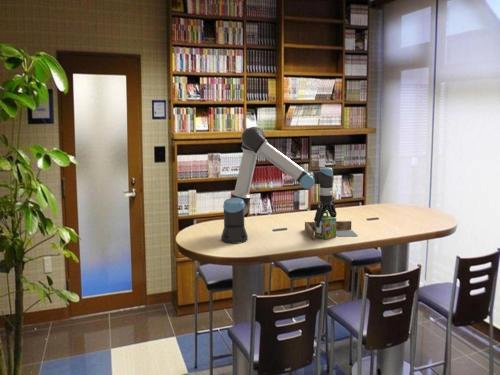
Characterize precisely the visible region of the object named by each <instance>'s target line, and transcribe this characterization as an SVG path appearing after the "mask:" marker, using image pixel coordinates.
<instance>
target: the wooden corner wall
mask: <svg viewBox="0 0 500 375" xmlns="http://www.w3.org/2000/svg"><path fill="white" fill-rule="evenodd" d="M348 230H352V220H336V231H348ZM304 231H305V232H306V234H307V235H308V237H309V239H310V240H311V241H314V240H315V221H304Z"/></svg>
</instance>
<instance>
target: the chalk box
mask: <svg viewBox="0 0 500 375" xmlns="http://www.w3.org/2000/svg"><path fill="white" fill-rule="evenodd" d="M325 214H326V215H325ZM336 221H337V217H334V218H333V217H331V216H330V215H329V212H328V211H326V212H324V214H323V217H322V219H321V221H320V222H321V233H317V227H316V226H317V225H316V223H317V222H316V221H314V222H315V230H314V237H317V238H320V239H323V240H326V239H333V238H336V237H337V236H336V231H337V230H336Z"/></svg>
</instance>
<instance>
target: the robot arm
mask: <svg viewBox="0 0 500 375" xmlns="http://www.w3.org/2000/svg"><path fill="white" fill-rule="evenodd" d="M240 137H241V143H242V144H241V148H240V149H241V150H242V155H241V160H240V165H239V170H238V174H237V177H236V178H237V179H236V184H235V188H234V190H233V191H232V192H231V195H230V197H229V198H227V199H225V200H224V201H223V204H222V205H223V206H222V208H223V229H222V232H221V236H220V238H221V239H220V240H221V242H223V241H225V242H224V243H226V242H242V243H244V242H243V241H245V242H247V241H248V239H249V238H248V233H247V230H246V227H245V215H246V214H248V212H249V210H250V205H251V204H250V202H251V199H252V198H251V195H250V191H251V190H250V189H251V185H252V180H253V177H254V172H255V168H256V163H257V159H258V156H259V155H260V156H262V157H263V158H265V159H266V160H267V161H269V162H270V163H271V164H273V165H274V166H275V167H276V168H278V169H280V171H282V172H283V173H285V174H286V175H288V176H290V178H292V179H293V180H295V181H296V182H297V183H298V184H300V186H301V187H302V188H303V189H306V190H309V189H312V188H313V187H314V185H319V189H318V192H319V196H318V198H319V199H318V200H319V202H320V204H319V203H318V204H317V205H316V206H317V208H316V212H315V215H314V218H313V222H315V221H316V222H317V223H316V225H317V226H316V227H317V233H321V222H320V221H321V219H322V217H323V214H324V215H325V213H324V212H326V211H328V215H329V216H331V217H333V218H337V210H336V207H335V201H334V200H333V197H334V196H333V192H334V190H333V189H334V188H333V187H334V170H333V168H332V167H328V166H327V167H320V168H319V170H305V169H304V168H303V167H301V166H300V165H298V164H297V163H295V162H294V161H293V160H292V159H290V158H289V157H287V156H286V155H285V154H284V153H282V152H281V151H279V150H278V149H277V148H275V147H274V146H272V145H271V144H270V143H269V142H268V140H267V139H266V136H265V132H264V131H263V129H261V128H260V127H258V126H251V127H247V128H245V130H243V131H242V134H241V136H240ZM246 240H247V241H246Z"/></svg>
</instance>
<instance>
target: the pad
mask: <svg viewBox="0 0 500 375" xmlns="http://www.w3.org/2000/svg"><path fill="white" fill-rule="evenodd" d="M336 237H337V238H340V237H341V238H342V237H343V238H344V237H348V238H349V237H358V234H357V233H356V232H355V231H354V230H336Z"/></svg>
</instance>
